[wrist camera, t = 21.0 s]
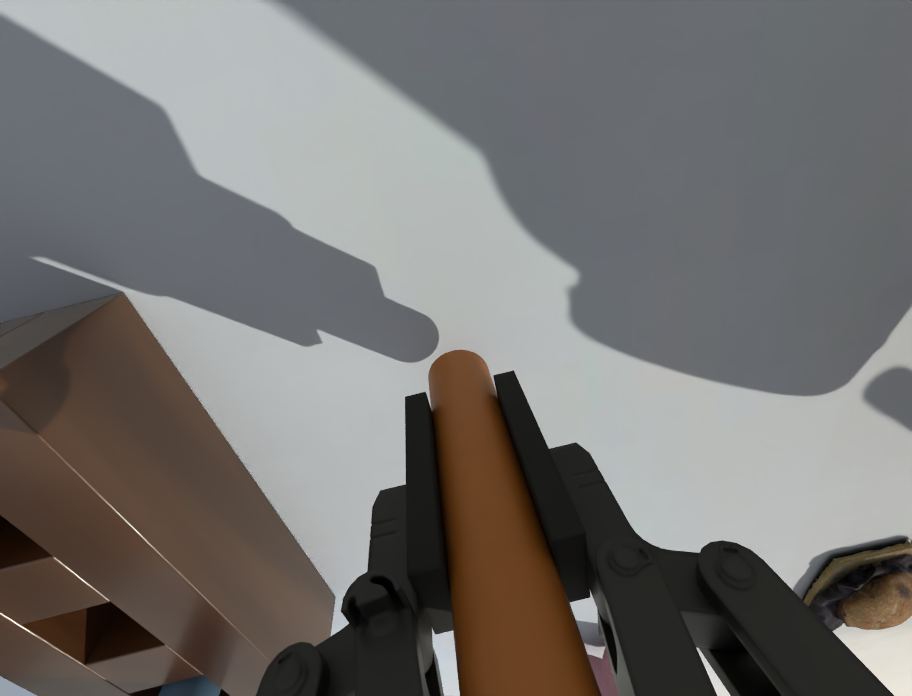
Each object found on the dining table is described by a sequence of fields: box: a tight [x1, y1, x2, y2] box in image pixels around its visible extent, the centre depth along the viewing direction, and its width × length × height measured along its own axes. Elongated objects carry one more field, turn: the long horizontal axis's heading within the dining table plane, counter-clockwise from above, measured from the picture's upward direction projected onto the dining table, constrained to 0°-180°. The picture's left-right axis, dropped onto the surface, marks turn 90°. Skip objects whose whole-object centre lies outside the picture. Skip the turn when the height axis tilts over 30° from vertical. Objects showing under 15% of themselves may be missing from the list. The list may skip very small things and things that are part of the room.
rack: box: [0, 293, 335, 696], centre depth 18 cm, size 10×22×6 cm, turn 12°
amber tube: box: [428, 350, 602, 696], centre depth 11 cm, size 3×3×14 cm
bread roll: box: [803, 539, 912, 631], centre depth 34 cm, size 11×8×4 cm
